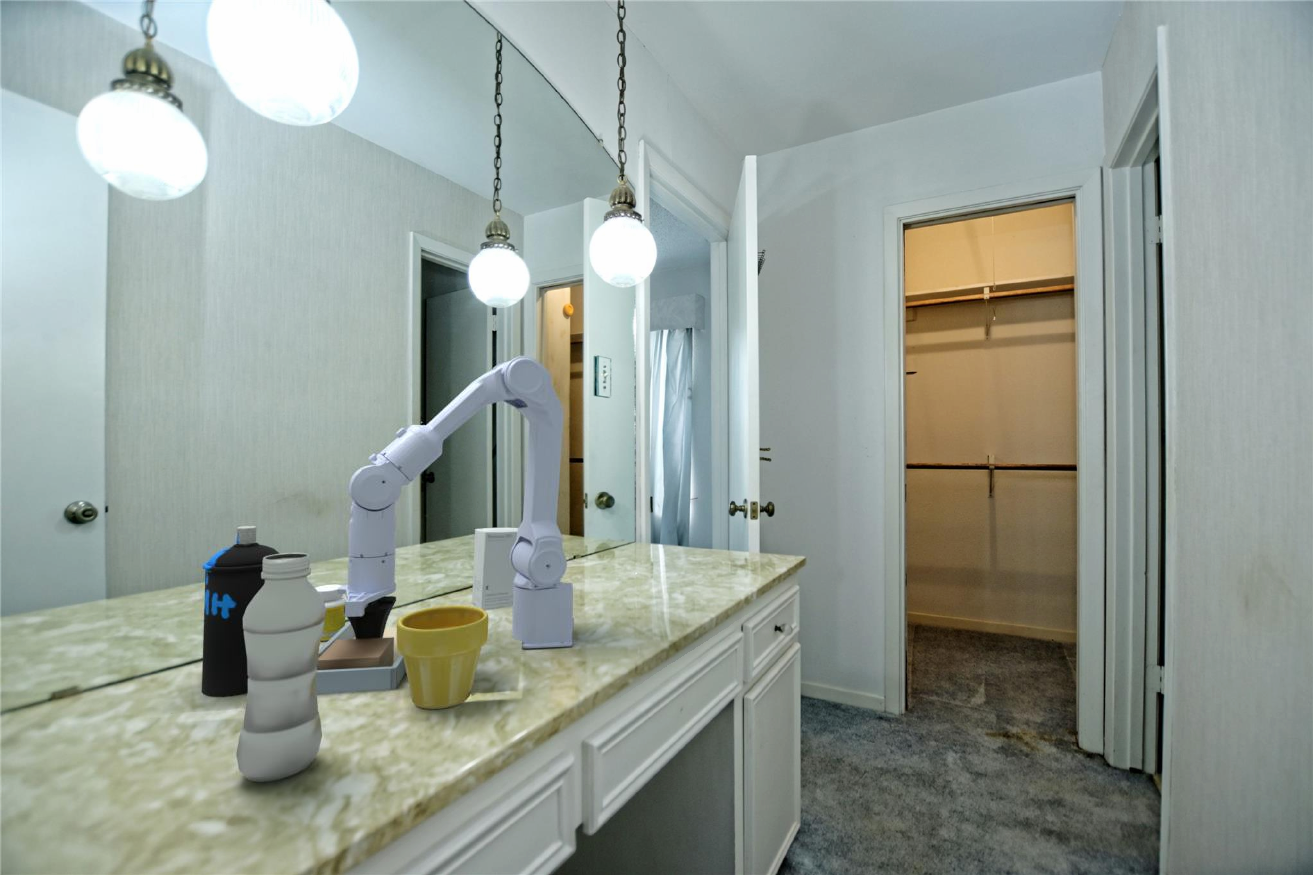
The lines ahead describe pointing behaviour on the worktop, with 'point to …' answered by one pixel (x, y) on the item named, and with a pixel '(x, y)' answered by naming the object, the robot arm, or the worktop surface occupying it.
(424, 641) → the plant pot
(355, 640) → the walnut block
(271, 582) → the plastic bottle
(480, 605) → the skincare box
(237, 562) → the aerosol can
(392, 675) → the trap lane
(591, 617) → the worktop surface
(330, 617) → the supplement bottle
